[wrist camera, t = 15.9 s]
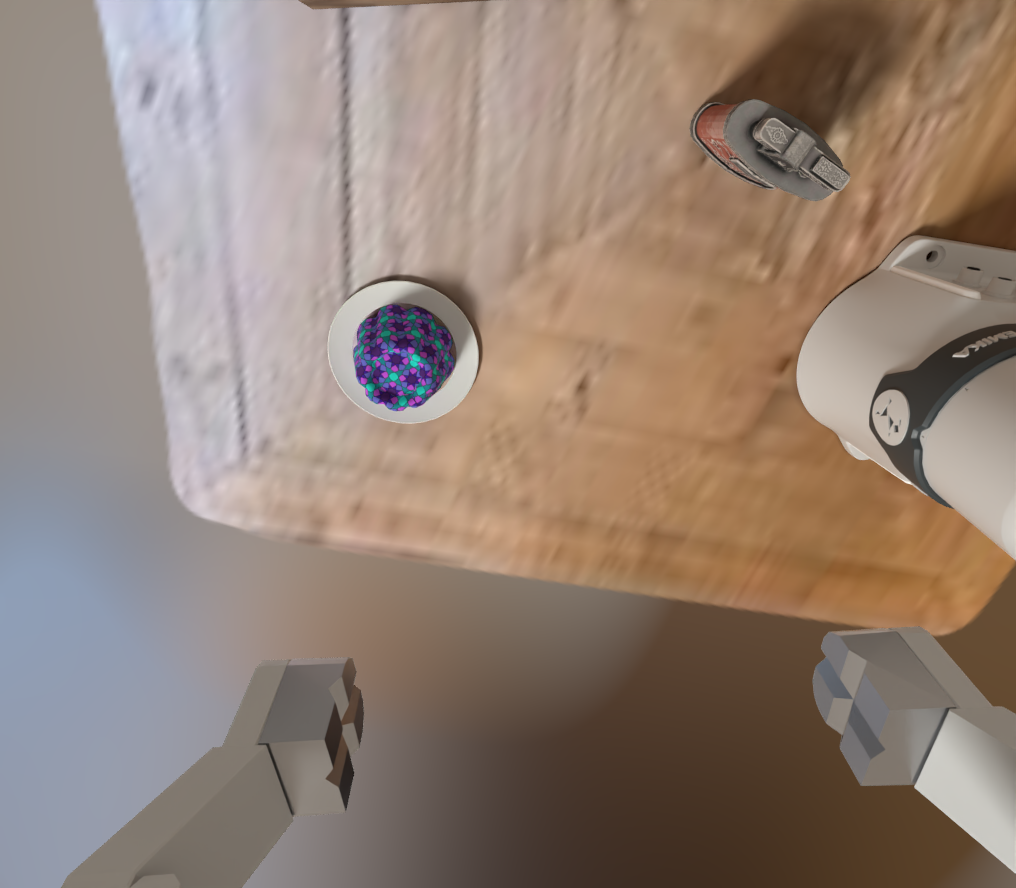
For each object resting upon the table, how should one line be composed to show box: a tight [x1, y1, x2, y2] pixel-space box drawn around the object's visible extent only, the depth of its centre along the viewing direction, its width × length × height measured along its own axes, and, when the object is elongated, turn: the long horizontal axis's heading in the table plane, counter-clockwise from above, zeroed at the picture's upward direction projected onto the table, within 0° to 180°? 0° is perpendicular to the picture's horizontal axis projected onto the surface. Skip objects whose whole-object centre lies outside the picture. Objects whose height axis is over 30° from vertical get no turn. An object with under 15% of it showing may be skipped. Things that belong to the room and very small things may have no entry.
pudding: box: [327, 281, 479, 423], centre depth 47 cm, size 12×12×5 cm
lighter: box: [690, 99, 850, 201], centre depth 38 cm, size 8×3×10 cm, turn 60°
